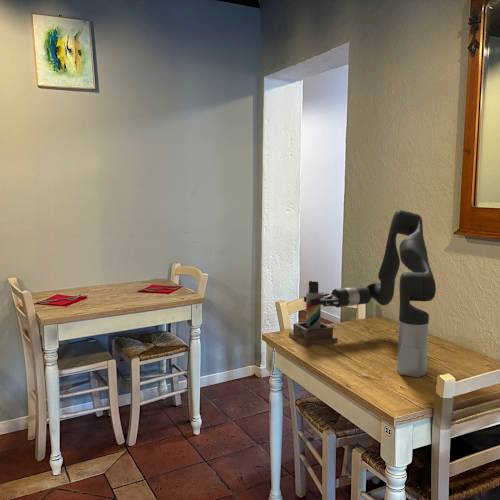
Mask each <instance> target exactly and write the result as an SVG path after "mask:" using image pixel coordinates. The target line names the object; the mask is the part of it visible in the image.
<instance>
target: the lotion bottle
mask: <svg viewBox="0 0 500 500" xmlns="http://www.w3.org/2000/svg"><path fill="white" fill-rule="evenodd" d="M305 296H306V302H305V308H306V309H305V322H306V329H308V330H313V329H320V324H321V321H322V319H321V312H322V311H321V310H322V308H321V307H322V306H321V305H320V304H319V305H313V306H311V305H310V300H316V299H319V300H320V299H321V292H320V291H319V281H315V280H308V291H306V294H305Z"/></svg>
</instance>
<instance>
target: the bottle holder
mask: <svg viewBox="0 0 500 500" xmlns="http://www.w3.org/2000/svg"><path fill="white" fill-rule="evenodd" d="M292 326H293V328H292V329H293V331H292V332H289V333H288V337H290V338H291V339H293V340H295V341H297V343H300V344H301V345H303V346H305V347H306V348H307V347H313V346H319V345H325V344H331V343H337V342H338V337H337V336H335V335H334V328H333V327H332V326H331V325H328V324H327V323H324V322H321V324H320V329H313V330H308V329H306V321H304V322H303V321H302V322H296V323H295V322H294V323H293V325H292Z"/></svg>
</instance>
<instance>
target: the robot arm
mask: <svg viewBox="0 0 500 500" xmlns="http://www.w3.org/2000/svg"><path fill="white" fill-rule="evenodd" d="M423 226H424V225H423V218H422V216H421V215H419V214H418V213H415V212H411V211H406V210H402V209H398V210H396V211H395V212H394V214H393V217H392V218H391V222H390V227H389V230H388V236H387V240H386V246H385V249H384V255H383V259H382V262H381V265H380V268H379V270H378V275H377V278H378V280H379V282H372V283H369V284H367V285H364V286H360V287H343V288H335V289H333V290H332V292H331V293H330V292H323V291H322V292H320V293H321V299H320V300H319V299H316V300H310V305H311V306H313V305H319V304H320V305H321V307H324V308H325V307H335V308H346V307H353V306H357V305H366V304H369V302H371V299H373V300H374V301H375V302H377V303H378V305H381V306H387V305H389V304H390V303H391V302H392V300H393V299H394V295H395V286H396V285H395V283H396V278H397V274H398V273H399V270H400V265H401V263H402V264H403V265H404V267H406V269H408V270H409V271H407V272H402V273H401V275H400V277H399V286H398V288H399V311H398V313H399V315H398V317H399V318H398V332H397V333H398V335H397V336H398V337H397V338H398V339H397V356H396V357H397V358H396V359H397V362H396V363H397V364H396V371H397V372H398V373H399V375H402V376H408V377H414V378H420V377H423V376H426V374H427V363H428V342H429V325H430V324H429V323H430V322H429V321H430V320H429V319H430V314H429V313H428V312H426V311H425V310H423V309H420V308H417V307H416V306H414V305H412V303H411V302H431V301H433V300H434V298H435V297H436V292H437V291H436V290H437V288H436V286H437V285H436V280H435V278H434V274H433V272H432V271H433V270H432V269H431V267H430V262H429V257H428V250H427V246H426V242H425V238H424V237H425V236H424V228H423ZM398 234H399V235H403V236H406V237H404V238H403V240H402V241H401V242H400V243H399V246H398V248H399V249H398V248H397V236H398ZM398 250H399V251H398ZM303 302H304V303H306V295H305V296H303Z"/></svg>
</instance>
